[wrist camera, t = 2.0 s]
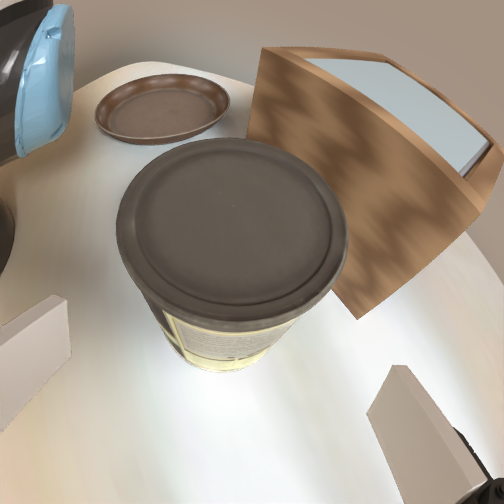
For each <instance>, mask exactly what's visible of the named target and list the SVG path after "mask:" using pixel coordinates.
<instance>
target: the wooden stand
mask: <svg viewBox="0 0 504 504" xmlns="http://www.w3.org/2000/svg"><path fill="white" fill-rule="evenodd" d="M305 59H347V60H362V61H373V62H382V63H388V64H390V65H391V66H393V67H395V68H396V69H398V70H399V71H401V72H402V73H404V74H406V75H407V76H409V77H410V78H412V79H413V80H415V81H416V82H418V83H419V84H420V85H422V86H423V87H425V88H426V89H427V90H429V91H430V92H431V93H433V94H434V95H436V96H437V97H438V98H439V99H441V100H442V101H443V102H445V103H446V104H447V105H448V106H450V107H451V108H452V109H453V110H454V111H456V112H457V113H458V114H459V115H460V116H461V117H463V118H464V119H465V120H466V121H467V122H468V123H469V124H470V125H472V126H473V127H474V128H475V129H476V130H477V131H478V132H479V133H480V134H481V135H482V136H483V137H484V138H485V139H486V140H487V141H488V142H489V147H488V149H487V150H486V151H485V153H484V154H483V155H482V156H481V158H480V159H479V160H478V161H477V163H476V164H475V165H474V166H473V168H472V169H471V170H470V171H469V173H468V174H467V175H466V176H465V177H464V178H463V177H462V176H461V175H460V174H459V173H458V172H457V171H456V170H455V169H454V168H453V167H452V166H451V165H450V164H449V163H448V162H447V161H446V160H445V159H444V158H443V157H442V156H441V155H440V154H439V153H438V152H436V151H435V150H434V149H433V148H432V147H431V146H430V145H429V144H428V143H426V142H425V141H424V140H423V139H422V138H421V137H420V136H418V135H417V134H416V133H415V132H414V131H412V130H411V129H410V128H409V127H407V126H406V125H405V124H404V123H402V122H401V121H400V120H399V119H397V118H396V117H395V116H393V115H392V114H391V113H389V112H388V111H387V110H385V109H384V108H383V107H381V106H380V105H379V104H377V103H376V102H374V101H373V100H371V99H370V98H368V97H367V96H366V95H364V94H363V93H361V92H360V91H358V90H356V89H355V88H353V87H352V86H350V85H349V84H347V83H345V82H344V81H342V80H341V79H339V78H337V77H335V76H334V75H332V74H330V73H329V72H327V71H325V70H323V69H322V68H320V67H318V66H316V65H314V64H312V63H311V62H309V61H307V60H305ZM246 139H248V140H254V141H258V142H262V143H266V144H269V145H272V146H274V147H277V148H280V149H282V150H284V151H286V152H289V153H291V154H293V155H294V156H296V157H298V158H299V159H301V160H303V161H304V162H305V163H307V164H308V165H309V166H311V167H312V168H313V169H314V170H315V171H316V172H318V173H319V174H320V175H321V176H322V178H323V179H324V180H325V181H326V182H327V183H328V185H329V186H330V187H331V189H332V190H333V191H334V193H335V194H336V196H337V198H338V200H339V202H340V204H341V206H342V208H343V211H344V214H345V217H346V220H347V225H348V233H349V245H348V253H347V258H346V261H345V264H344V267H343V270H342V272H341V274H340V276H339V278H338V279H337V281H336V282H335V284H334V285H333V287H332V288H331V289H332V290H333V291H334V292H335V294H336V295H337V296H338V297H339V298H340V300H341V301H342V302H343V303H344V304H345V306H346V307H347V308H348V309H349V310H350V312H351V313H352V314H353V315H354V317H355V318H356V319H357V320H358V319H359V318H361V317H362V316H363V315H365V314H366V313H368V312H369V311H370V310H372V309H373V308H374V307H376V306H377V305H378V304H380V303H381V302H382V301H384V300H385V299H386V298H388V297H389V296H390V295H391V294H393V293H394V292H395V291H397V290H398V289H399V288H400V287H402V286H403V285H404V284H405V283H407V282H408V281H409V280H410V279H411V278H413V277H414V276H415V275H416V274H417V273H419V272H420V271H421V270H422V269H423V268H424V267H426V266H427V265H428V264H429V263H430V262H431V261H433V260H434V259H435V258H436V257H437V256H438V255H439V254H440V253H441V252H443V251H444V250H445V249H446V248H447V247H448V246H449V245H450V244H451V243H452V242H453V241H454V240H455V239H456V238H458V237H459V236H460V235H461V234H462V233H463V232H464V231H465V230H466V229H467V228H468V226H470V225H471V224H472V223H473V222H474V221H475V219H477V218H478V217H479V216H480V214H481V213H482V211H483V209H484V207H485V205H486V202H487V200H488V198H489V196H490V194H491V191H492V189H493V187H494V185H495V182H496V180H497V177H498V175H499V172H500V170H501V167H502V164H503V162H504V150H503V149H502V148H501V146H500V145H499V144H498V143H497V142H496V141H495V140H494V139H493V138H492V137H491V136H490V135H489V134H488V133H487V132H486V131H485V130H483V128H482V127H480V126H479V125H478V124H477V123H476V122H475V121H474V120H473V119H472V118H471V117H469V116H468V115H467V114H466V113H465V112H464V111H463V110H461V109H460V108H459V107H458V106H457V105H455V104H454V103H453V102H451V101H450V100H449V99H448V98H447V97H445V96H444V95H443V94H441V93H440V92H439V91H437V90H436V89H435V88H433V87H432V86H430V85H429V84H428V83H426V82H425V81H423V80H422V79H421V78H419V77H418V76H416V75H415V74H413V73H412V72H410V71H408V70H407V69H405V68H404V67H402V66H401V65H399V64H397V63H396V62H394V61H392V60H390V59H389V58H387V57H385V56H384V55H382V54H378V53H371V52H364V51H355V50H347V49H334V48H319V47H263V48H262V51H261V56H260V61H259V67H258V73H257V78H256V83H255V89H254V95H253V100H252V106H251V112H250V118H249V124H248V130H247V136H246Z"/></svg>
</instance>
